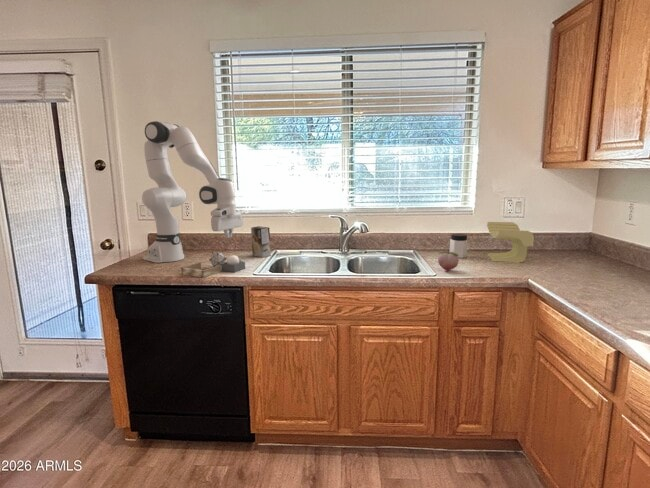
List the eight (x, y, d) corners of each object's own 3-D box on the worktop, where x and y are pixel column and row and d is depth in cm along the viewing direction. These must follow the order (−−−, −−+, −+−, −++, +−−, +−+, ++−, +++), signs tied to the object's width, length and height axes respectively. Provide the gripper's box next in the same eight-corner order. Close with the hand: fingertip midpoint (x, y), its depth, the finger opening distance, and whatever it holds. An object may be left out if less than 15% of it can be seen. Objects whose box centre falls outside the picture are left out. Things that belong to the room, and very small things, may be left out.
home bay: (181, 274, 180) (181, 267, 180) (200, 268, 191) (199, 262, 190) (203, 277, 174) (203, 271, 174) (221, 271, 185) (221, 265, 184)
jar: (469, 257, 208) (470, 235, 206) (455, 258, 206) (456, 236, 204) (460, 254, 216) (461, 233, 214) (446, 255, 215) (448, 233, 212)
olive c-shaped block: (531, 267, 187) (534, 230, 184) (495, 265, 191) (498, 230, 187) (515, 254, 216) (518, 222, 213) (485, 252, 219) (487, 221, 216)
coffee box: (271, 255, 218) (270, 227, 215) (262, 257, 213) (261, 228, 210) (260, 253, 224) (259, 225, 220) (251, 255, 219) (250, 227, 216)
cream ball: (224, 270, 186) (223, 256, 185) (232, 267, 192) (231, 253, 190) (234, 271, 184) (233, 257, 183) (242, 268, 189) (241, 254, 188)
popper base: (221, 270, 186) (221, 263, 185) (232, 266, 193) (232, 260, 192) (234, 272, 183) (234, 265, 182) (245, 268, 190) (244, 261, 189)
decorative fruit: (459, 269, 184) (460, 249, 182) (457, 273, 177) (458, 252, 175) (438, 267, 188) (439, 247, 186) (436, 271, 181) (437, 250, 179)
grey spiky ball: (220, 275, 192) (220, 262, 185) (205, 268, 193) (204, 255, 186) (230, 263, 198) (230, 250, 191) (215, 256, 199) (214, 243, 192)
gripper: (235, 208, 205) (237, 234, 208) (207, 212, 187) (210, 240, 190) (244, 208, 203) (246, 234, 205) (218, 212, 185) (220, 241, 187)
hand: (229, 237), depth 197 cm, fingers closed
